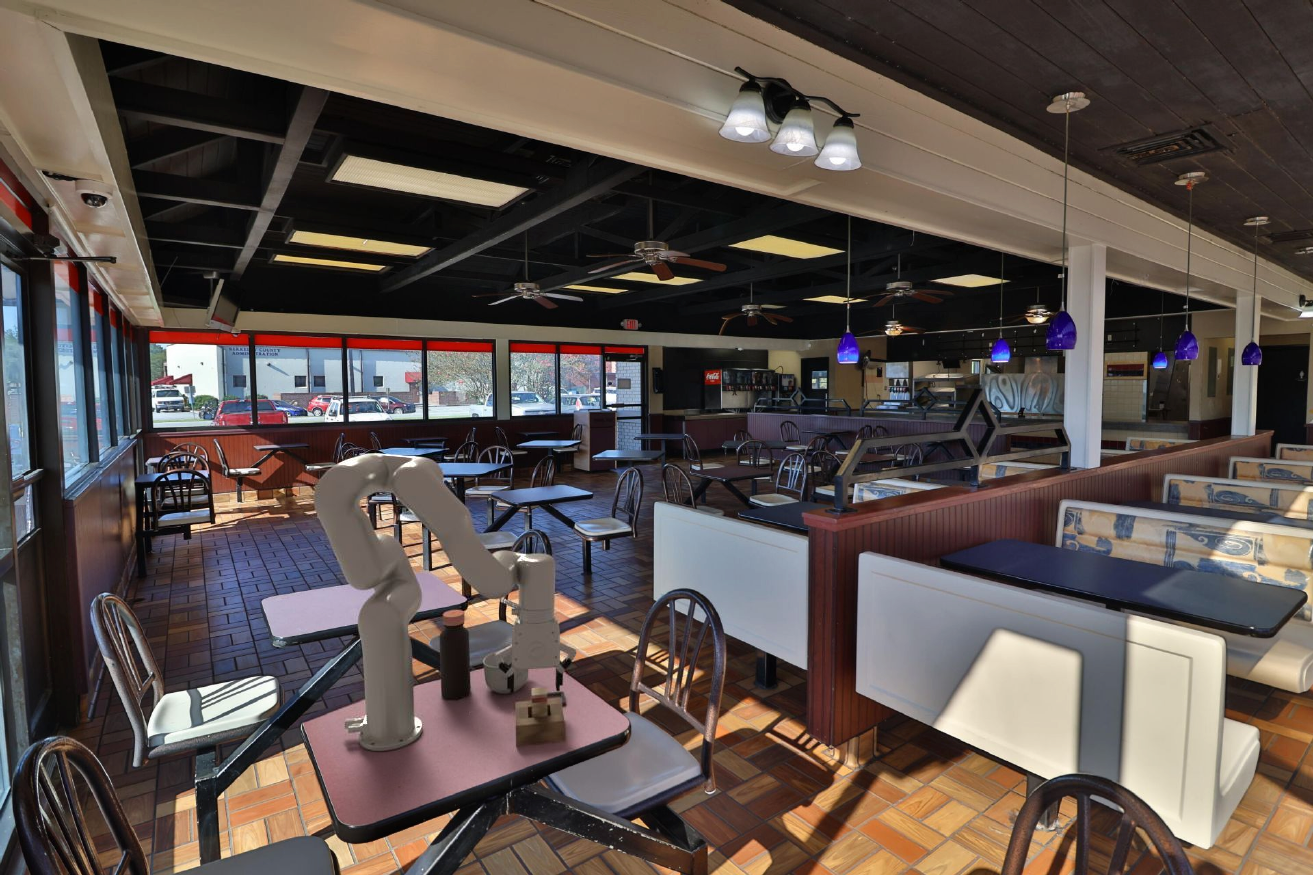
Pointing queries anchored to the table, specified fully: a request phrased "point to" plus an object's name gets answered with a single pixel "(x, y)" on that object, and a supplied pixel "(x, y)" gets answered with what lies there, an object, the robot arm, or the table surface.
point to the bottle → (454, 656)
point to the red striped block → (539, 702)
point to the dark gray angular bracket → (558, 695)
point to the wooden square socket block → (539, 723)
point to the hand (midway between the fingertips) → (534, 689)
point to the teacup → (502, 675)
